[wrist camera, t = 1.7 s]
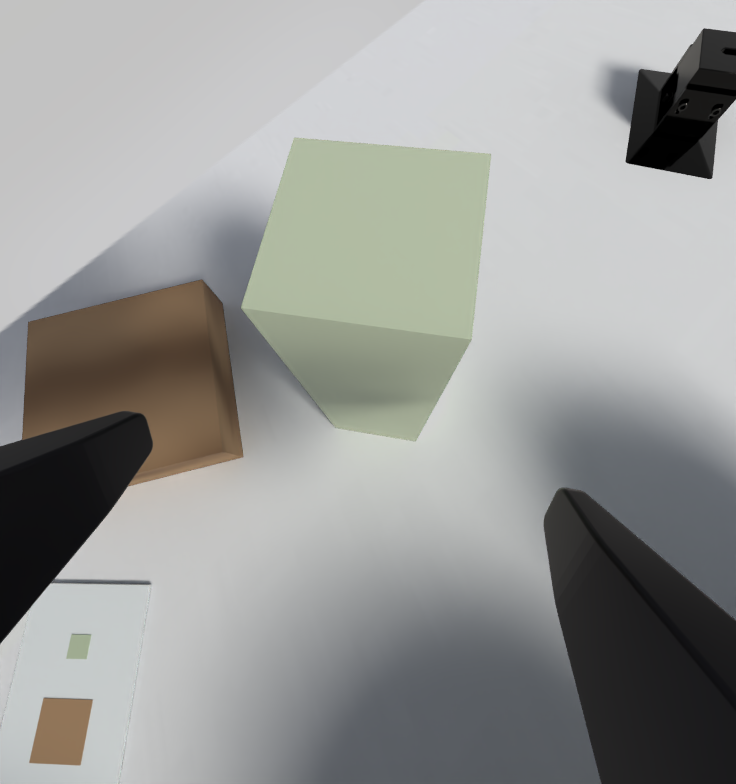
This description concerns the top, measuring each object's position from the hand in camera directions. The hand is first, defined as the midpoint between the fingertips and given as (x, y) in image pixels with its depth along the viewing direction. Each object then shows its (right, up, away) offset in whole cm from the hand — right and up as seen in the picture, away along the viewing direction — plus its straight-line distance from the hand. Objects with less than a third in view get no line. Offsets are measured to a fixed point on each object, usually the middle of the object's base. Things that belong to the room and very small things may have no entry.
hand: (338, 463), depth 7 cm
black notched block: (+22, +20, +17) cm, 35 cm away
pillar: (+1, +1, +12) cm, 12 cm away
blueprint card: (-13, -13, +9) cm, 20 cm away
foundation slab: (-12, +1, +13) cm, 18 cm away
